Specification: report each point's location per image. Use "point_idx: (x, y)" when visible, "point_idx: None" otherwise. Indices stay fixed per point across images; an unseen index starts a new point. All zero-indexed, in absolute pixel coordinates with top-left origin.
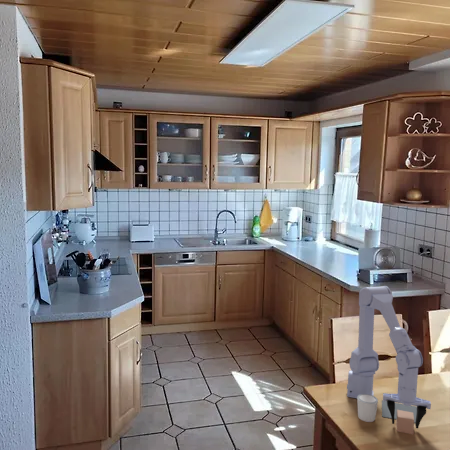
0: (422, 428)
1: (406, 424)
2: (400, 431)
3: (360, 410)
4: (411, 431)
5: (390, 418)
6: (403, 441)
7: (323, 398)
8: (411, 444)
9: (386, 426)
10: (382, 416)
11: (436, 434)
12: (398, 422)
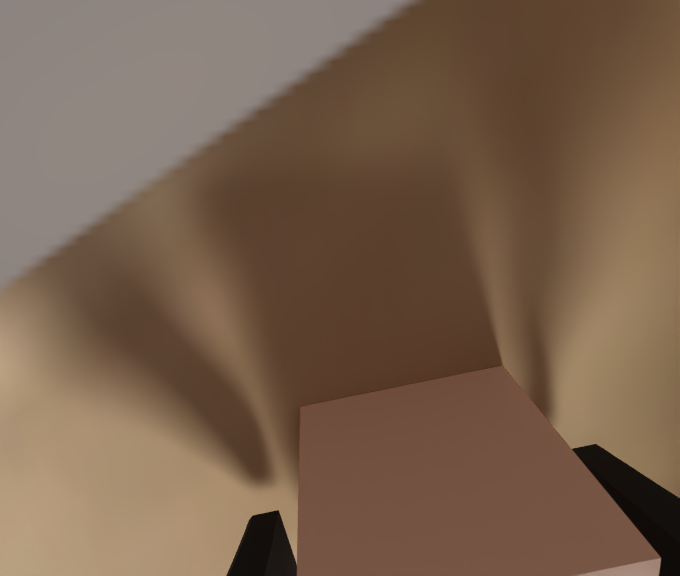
0: None
1: (421, 483)
2: (460, 377)
3: None
4: (325, 426)
5: None
6: (401, 149)
7: None
8: (277, 130)
9: (626, 397)
10: None
11: (57, 548)
12: (561, 462)
